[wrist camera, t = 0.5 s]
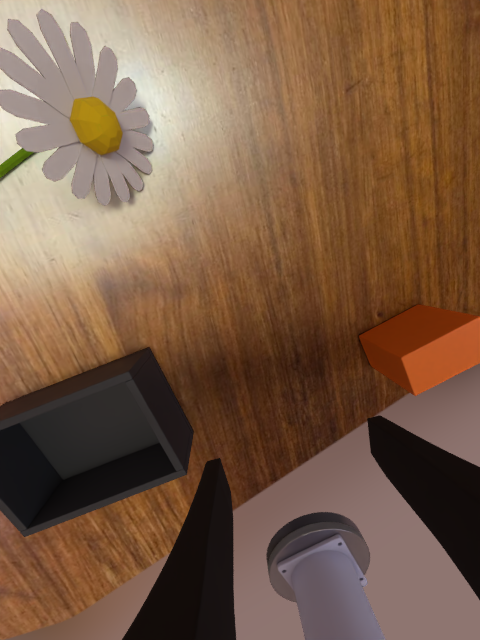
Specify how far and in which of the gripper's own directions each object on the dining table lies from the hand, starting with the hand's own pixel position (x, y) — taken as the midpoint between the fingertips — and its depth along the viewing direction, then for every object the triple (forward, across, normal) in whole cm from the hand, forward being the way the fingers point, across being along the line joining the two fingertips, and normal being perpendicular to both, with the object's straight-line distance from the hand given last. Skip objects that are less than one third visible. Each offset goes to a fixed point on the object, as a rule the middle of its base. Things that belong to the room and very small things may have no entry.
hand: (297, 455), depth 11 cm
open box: (+10, +15, +1) cm, 18 cm away
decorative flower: (+10, +10, -17) cm, 22 cm away
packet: (+10, -12, 0) cm, 16 cm away
